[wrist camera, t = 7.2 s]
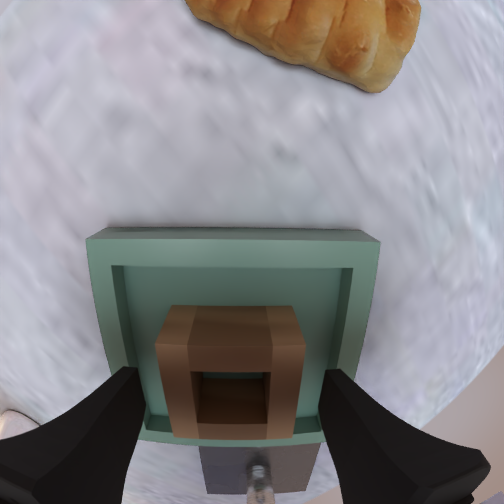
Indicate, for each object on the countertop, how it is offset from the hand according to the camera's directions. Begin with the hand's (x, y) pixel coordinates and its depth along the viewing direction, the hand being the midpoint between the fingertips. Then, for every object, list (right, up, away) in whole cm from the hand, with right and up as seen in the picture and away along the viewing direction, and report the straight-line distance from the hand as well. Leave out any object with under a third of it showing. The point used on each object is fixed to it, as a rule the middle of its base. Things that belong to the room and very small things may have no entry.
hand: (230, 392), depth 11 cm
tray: (0, +1, +3) cm, 3 cm away
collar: (0, +1, +2) cm, 2 cm away
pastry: (+3, +16, 0) cm, 16 cm away
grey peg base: (+1, -8, +6) cm, 10 cm away
